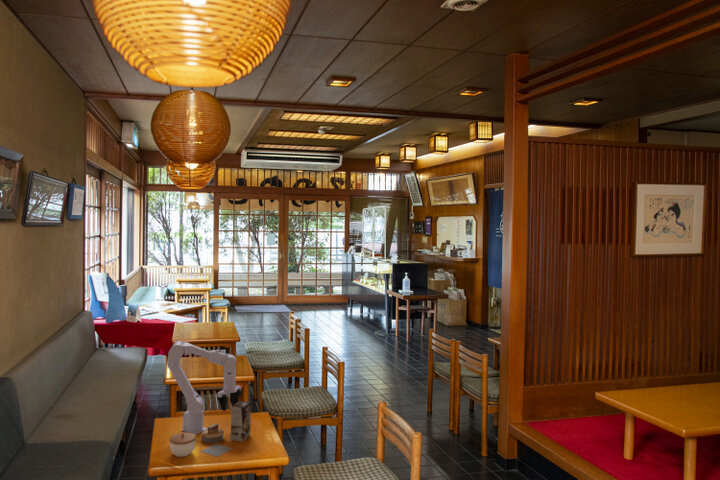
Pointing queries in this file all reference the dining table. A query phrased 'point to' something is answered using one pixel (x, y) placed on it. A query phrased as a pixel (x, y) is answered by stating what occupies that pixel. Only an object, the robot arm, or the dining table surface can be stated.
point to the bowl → (212, 439)
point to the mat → (216, 450)
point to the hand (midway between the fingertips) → (229, 408)
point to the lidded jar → (182, 444)
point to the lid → (212, 432)
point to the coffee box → (241, 421)
